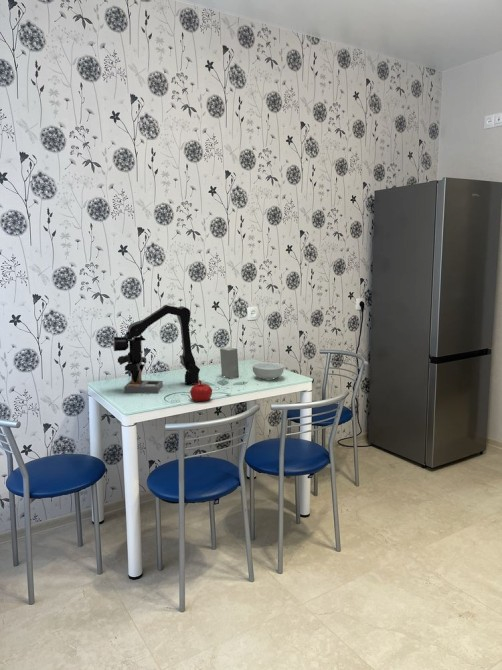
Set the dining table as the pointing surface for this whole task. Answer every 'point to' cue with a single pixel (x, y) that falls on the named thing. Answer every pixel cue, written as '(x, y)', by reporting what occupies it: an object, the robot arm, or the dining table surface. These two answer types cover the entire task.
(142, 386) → the socket block
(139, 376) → the walnut plug
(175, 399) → the dining table surface
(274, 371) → the cereal bowl
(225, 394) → the dining table surface
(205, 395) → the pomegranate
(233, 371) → the skincare box
